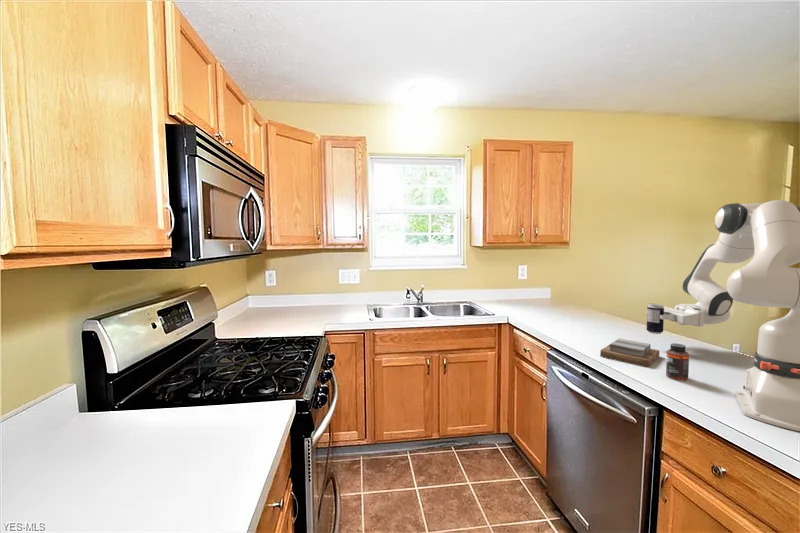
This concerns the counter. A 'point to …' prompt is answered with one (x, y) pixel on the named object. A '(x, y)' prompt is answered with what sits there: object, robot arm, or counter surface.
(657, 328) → the beverage can
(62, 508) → the counter surface
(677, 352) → the supplement bottle
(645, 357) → the plinth
